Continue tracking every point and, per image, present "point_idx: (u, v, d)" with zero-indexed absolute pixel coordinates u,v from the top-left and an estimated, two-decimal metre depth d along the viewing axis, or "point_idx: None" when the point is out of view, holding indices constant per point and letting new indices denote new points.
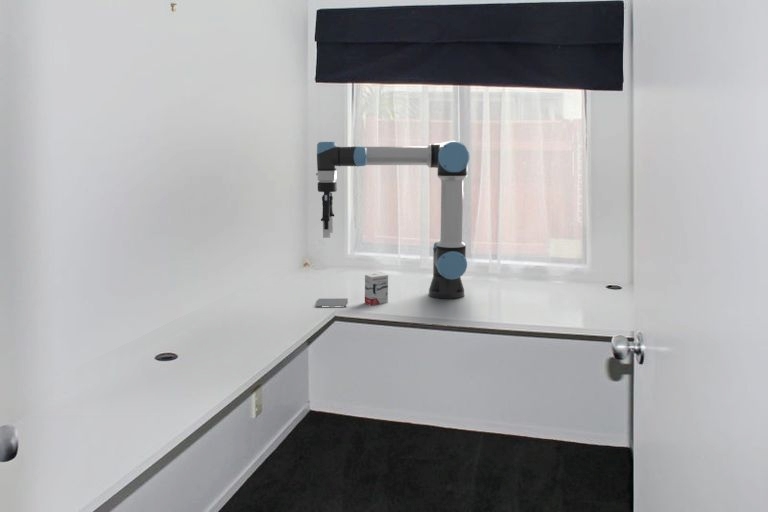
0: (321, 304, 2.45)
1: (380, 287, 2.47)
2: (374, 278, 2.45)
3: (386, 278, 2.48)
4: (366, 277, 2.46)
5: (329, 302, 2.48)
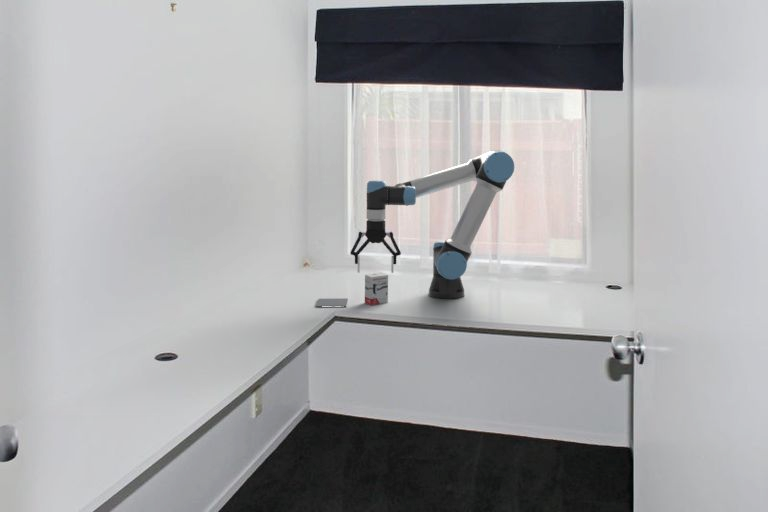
0: (321, 304, 2.45)
1: (380, 287, 2.47)
2: (374, 278, 2.45)
3: (386, 278, 2.48)
4: (366, 277, 2.46)
5: (329, 302, 2.48)
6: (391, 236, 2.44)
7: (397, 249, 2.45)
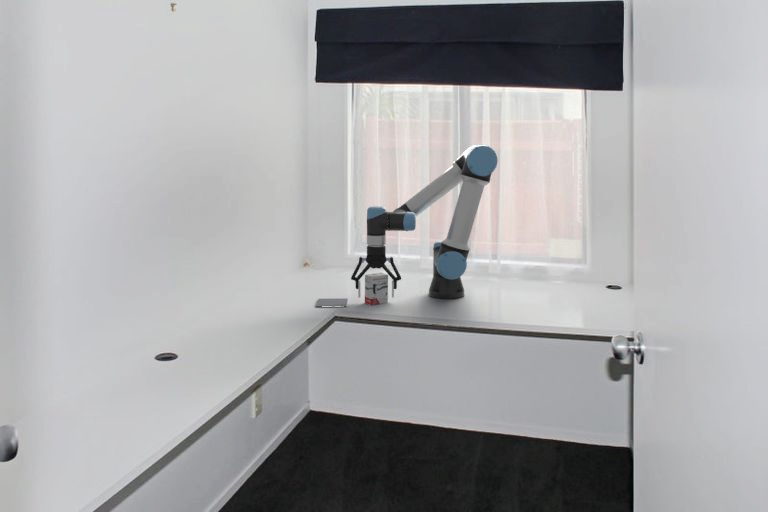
0: (321, 304, 2.45)
1: (380, 287, 2.47)
2: (374, 278, 2.45)
3: (386, 278, 2.48)
4: (366, 277, 2.46)
5: (329, 302, 2.48)
6: (391, 261, 2.46)
7: (397, 274, 2.47)
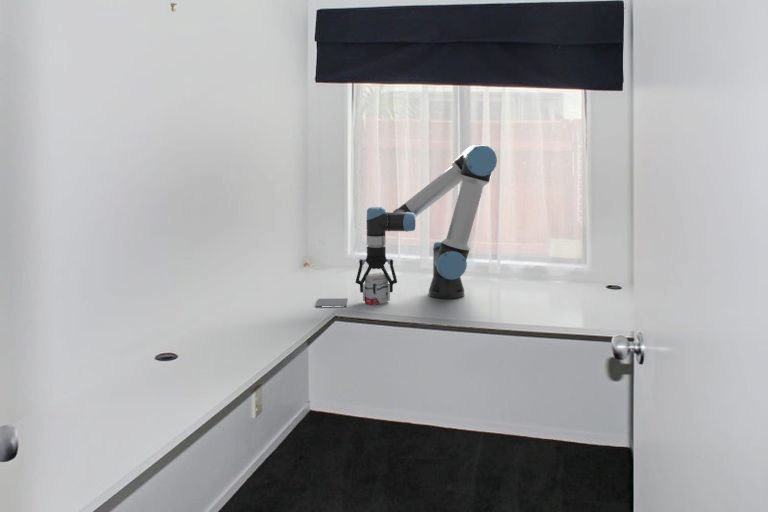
0: (321, 304, 2.45)
1: (380, 287, 2.47)
2: (374, 278, 2.45)
3: (386, 278, 2.48)
4: (366, 277, 2.46)
5: (329, 302, 2.48)
6: (391, 263, 2.46)
7: (394, 277, 2.47)
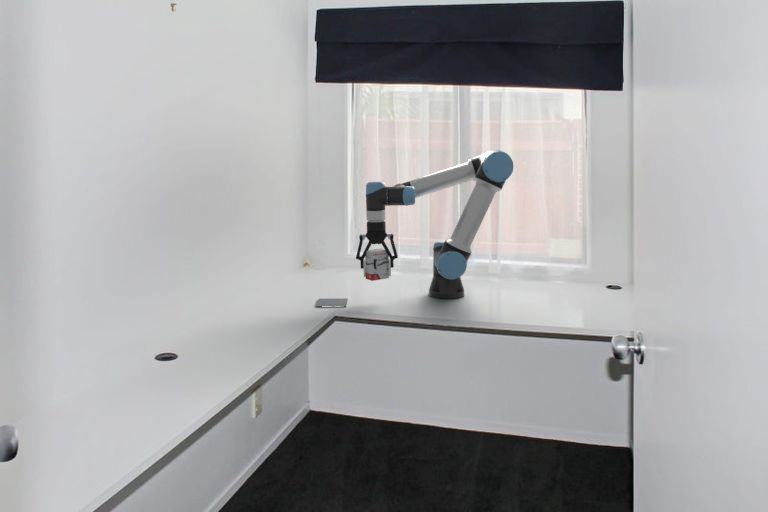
0: (321, 304, 2.45)
1: (381, 262, 2.45)
2: (374, 253, 2.43)
3: None
4: (366, 252, 2.45)
5: (329, 302, 2.48)
6: (391, 238, 2.44)
7: (395, 252, 2.45)
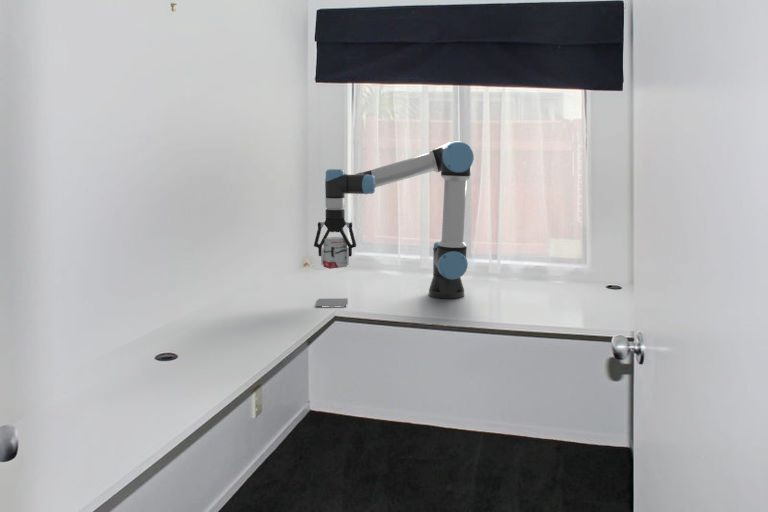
0: (321, 304, 2.45)
1: (339, 251, 2.43)
2: (332, 241, 2.41)
3: (345, 242, 2.44)
4: None
5: (329, 302, 2.48)
6: (350, 227, 2.42)
7: (353, 241, 2.43)
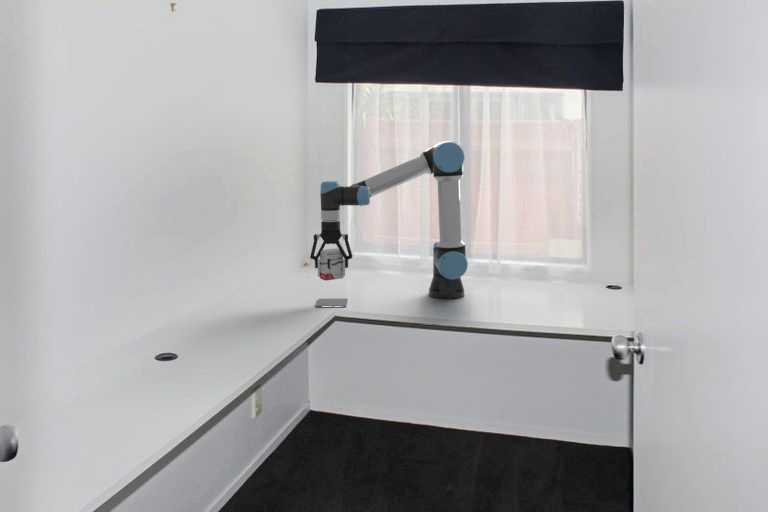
0: (321, 304, 2.45)
1: (335, 262, 2.44)
2: (328, 253, 2.42)
3: (341, 253, 2.45)
4: (321, 252, 2.44)
5: (329, 302, 2.48)
6: (346, 238, 2.43)
7: (349, 252, 2.44)
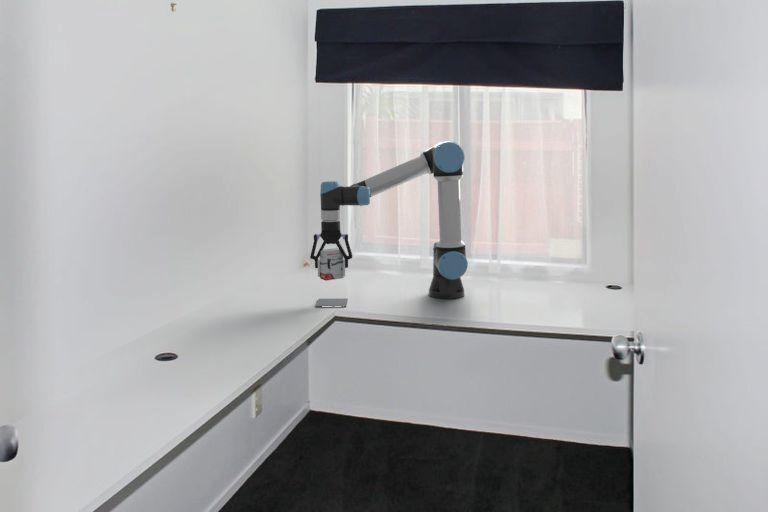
0: (321, 304, 2.45)
1: (335, 262, 2.44)
2: (328, 253, 2.42)
3: (341, 253, 2.45)
4: (321, 252, 2.44)
5: (329, 302, 2.48)
6: (346, 238, 2.43)
7: (349, 252, 2.44)
